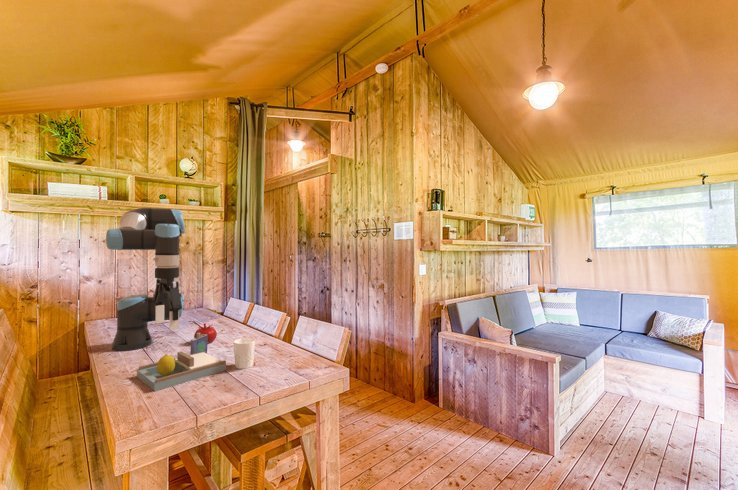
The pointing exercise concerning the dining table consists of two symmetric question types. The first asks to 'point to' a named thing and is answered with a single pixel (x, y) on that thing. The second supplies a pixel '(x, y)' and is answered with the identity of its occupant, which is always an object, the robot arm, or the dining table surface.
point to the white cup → (244, 352)
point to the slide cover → (195, 360)
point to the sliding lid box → (176, 374)
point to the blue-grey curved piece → (199, 343)
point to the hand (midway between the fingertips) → (166, 326)
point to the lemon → (166, 365)
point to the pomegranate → (207, 332)
